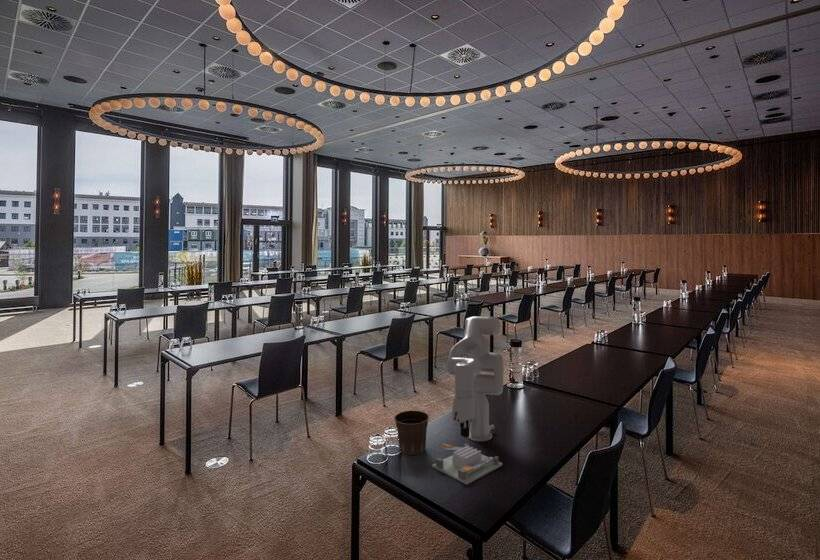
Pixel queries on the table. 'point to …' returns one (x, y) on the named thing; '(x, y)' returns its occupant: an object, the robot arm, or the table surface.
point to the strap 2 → (477, 465)
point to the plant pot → (412, 431)
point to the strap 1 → (450, 447)
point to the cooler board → (469, 476)
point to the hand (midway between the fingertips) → (465, 436)
